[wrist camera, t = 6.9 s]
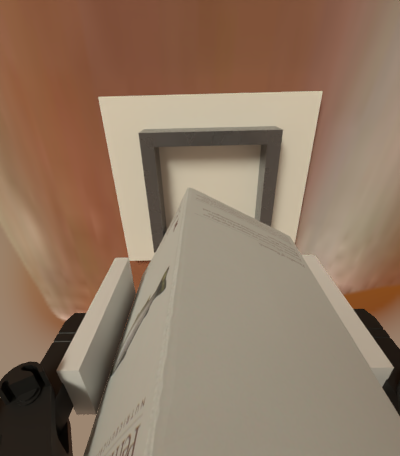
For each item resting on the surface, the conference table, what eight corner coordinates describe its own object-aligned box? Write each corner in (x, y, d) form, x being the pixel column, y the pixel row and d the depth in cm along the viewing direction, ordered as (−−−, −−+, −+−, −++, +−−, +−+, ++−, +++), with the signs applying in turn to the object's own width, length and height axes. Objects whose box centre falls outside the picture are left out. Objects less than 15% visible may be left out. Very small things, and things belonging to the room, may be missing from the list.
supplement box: (187, 181, 14) (137, 504, 3) (292, 235, 16) (513, 574, 5) (138, 273, 17) (26, 601, 6) (231, 311, 19) (275, 624, 8)
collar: (144, 129, 24) (138, 132, 22) (275, 126, 24) (283, 129, 22) (157, 240, 30) (154, 252, 28) (263, 239, 30) (267, 251, 27)
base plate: (102, 96, 24) (98, 96, 23) (317, 91, 23) (322, 91, 22) (131, 255, 32) (129, 260, 31) (289, 252, 32) (291, 258, 31)
